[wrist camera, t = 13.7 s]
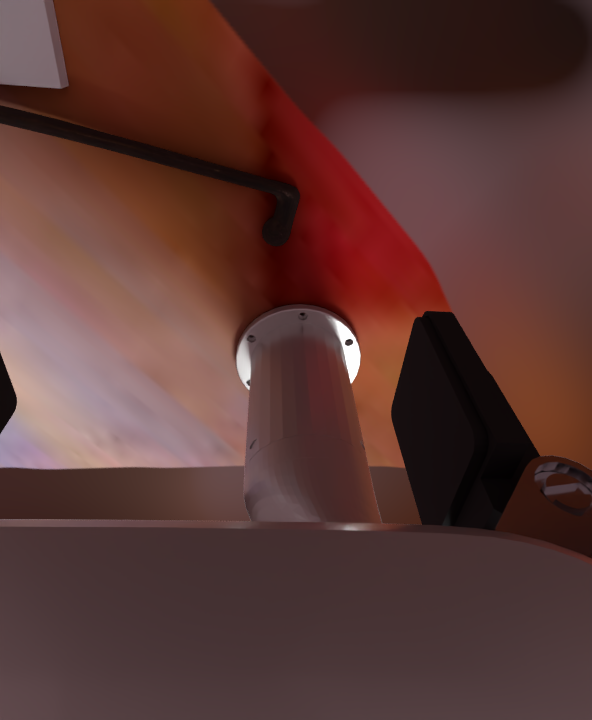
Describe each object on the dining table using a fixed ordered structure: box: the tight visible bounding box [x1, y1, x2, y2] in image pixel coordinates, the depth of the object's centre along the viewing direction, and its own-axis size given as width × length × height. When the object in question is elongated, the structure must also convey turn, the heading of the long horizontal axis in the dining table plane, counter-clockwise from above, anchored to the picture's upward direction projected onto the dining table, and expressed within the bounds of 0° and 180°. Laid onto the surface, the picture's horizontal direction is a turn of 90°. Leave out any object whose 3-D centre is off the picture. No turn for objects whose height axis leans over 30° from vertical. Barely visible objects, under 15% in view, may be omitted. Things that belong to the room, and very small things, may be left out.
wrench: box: [0, 105, 300, 246], centre depth 35 cm, size 5×5×30 cm
